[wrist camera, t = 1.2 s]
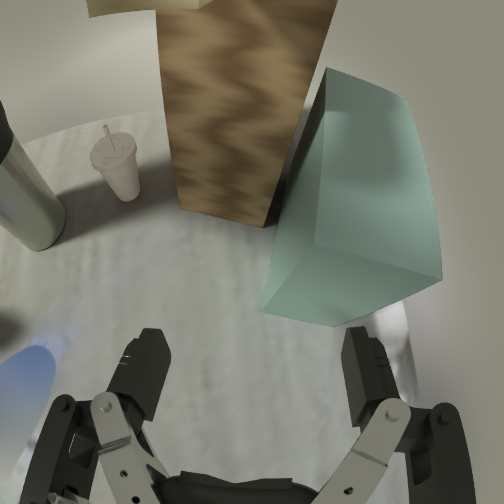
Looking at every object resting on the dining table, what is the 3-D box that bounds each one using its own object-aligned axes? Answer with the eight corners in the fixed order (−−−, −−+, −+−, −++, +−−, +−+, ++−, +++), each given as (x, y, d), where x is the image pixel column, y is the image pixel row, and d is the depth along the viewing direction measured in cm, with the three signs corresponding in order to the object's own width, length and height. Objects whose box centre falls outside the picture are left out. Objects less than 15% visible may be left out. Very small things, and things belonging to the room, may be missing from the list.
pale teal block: (260, 311, 34) (313, 243, 16) (287, 175, 43) (326, 67, 24) (333, 327, 35) (442, 279, 16) (345, 192, 43) (405, 98, 25)
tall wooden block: (180, 208, 39) (154, -46, 8) (219, 120, 47) (235, -55, 16) (262, 228, 39) (346, -28, 9) (283, 134, 47) (334, -38, 17)
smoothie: (123, 217, 37) (91, 152, 24) (102, 192, 38) (71, 129, 25) (156, 190, 39) (139, 120, 26) (134, 168, 40) (114, 101, 28)
